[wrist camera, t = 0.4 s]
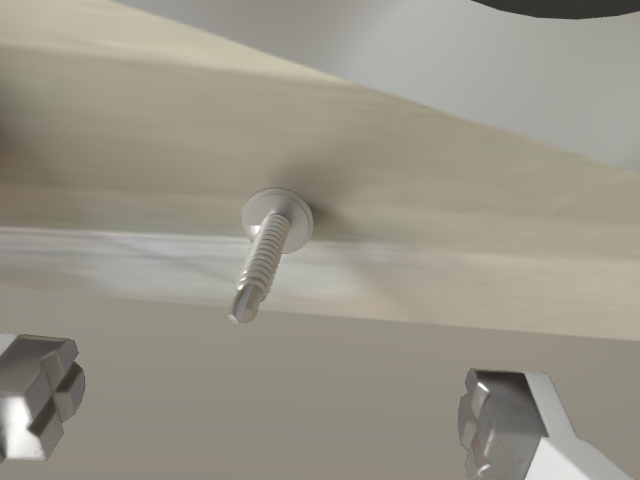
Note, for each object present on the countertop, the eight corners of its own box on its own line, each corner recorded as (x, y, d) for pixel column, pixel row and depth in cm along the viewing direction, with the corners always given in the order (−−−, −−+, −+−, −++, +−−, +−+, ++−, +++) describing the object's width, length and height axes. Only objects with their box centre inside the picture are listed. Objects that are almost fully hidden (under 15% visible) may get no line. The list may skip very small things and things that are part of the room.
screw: (327, 193, 35) (301, 249, 37) (261, 166, 35) (239, 224, 37) (303, 303, 24) (268, 374, 26) (204, 264, 23) (178, 340, 25)
